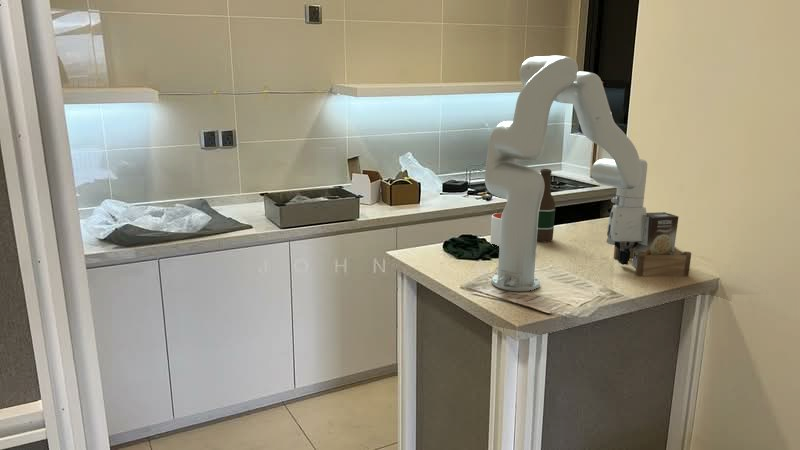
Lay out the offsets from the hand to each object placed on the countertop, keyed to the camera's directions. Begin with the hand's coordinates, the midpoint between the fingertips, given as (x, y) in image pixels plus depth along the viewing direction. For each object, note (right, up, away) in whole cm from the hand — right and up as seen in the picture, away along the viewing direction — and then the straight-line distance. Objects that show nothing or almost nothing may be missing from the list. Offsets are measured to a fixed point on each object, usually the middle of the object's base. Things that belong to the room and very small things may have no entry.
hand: (622, 263), depth 185 cm
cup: (-31, +4, +21) cm, 37 cm away
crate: (+8, -1, +1) cm, 8 cm away
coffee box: (+8, -2, 0) cm, 8 cm away
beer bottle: (-17, +6, +29) cm, 35 cm away
